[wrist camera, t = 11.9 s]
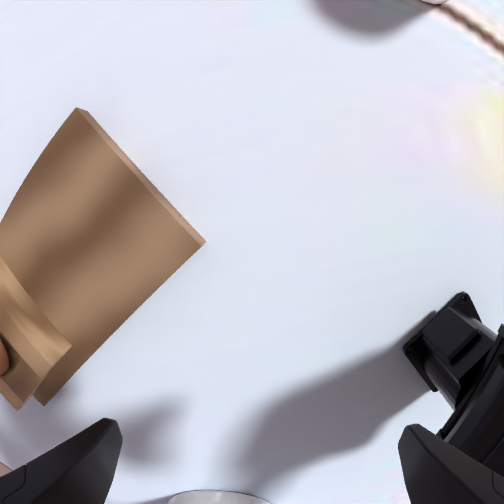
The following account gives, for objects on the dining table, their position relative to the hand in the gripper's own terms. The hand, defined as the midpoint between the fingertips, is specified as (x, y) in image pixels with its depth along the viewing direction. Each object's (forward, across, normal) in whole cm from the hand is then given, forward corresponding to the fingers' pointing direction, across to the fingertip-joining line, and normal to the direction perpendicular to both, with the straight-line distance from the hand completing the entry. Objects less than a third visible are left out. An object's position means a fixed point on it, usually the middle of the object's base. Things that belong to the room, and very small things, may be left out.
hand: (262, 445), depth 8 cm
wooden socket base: (+12, +15, 0) cm, 20 cm away
